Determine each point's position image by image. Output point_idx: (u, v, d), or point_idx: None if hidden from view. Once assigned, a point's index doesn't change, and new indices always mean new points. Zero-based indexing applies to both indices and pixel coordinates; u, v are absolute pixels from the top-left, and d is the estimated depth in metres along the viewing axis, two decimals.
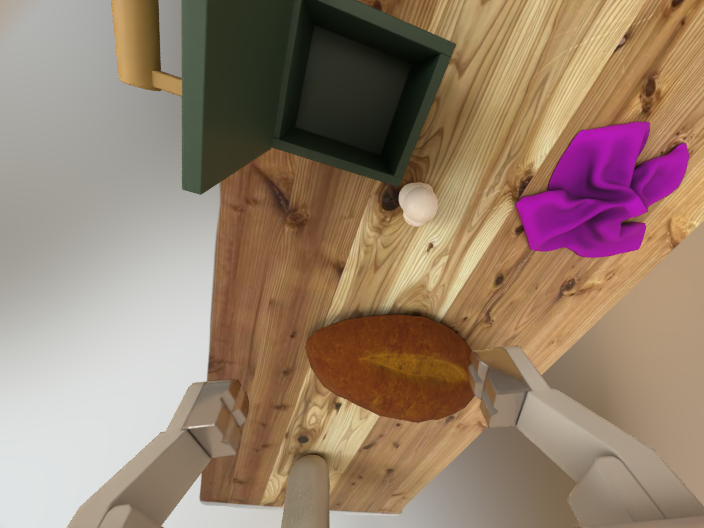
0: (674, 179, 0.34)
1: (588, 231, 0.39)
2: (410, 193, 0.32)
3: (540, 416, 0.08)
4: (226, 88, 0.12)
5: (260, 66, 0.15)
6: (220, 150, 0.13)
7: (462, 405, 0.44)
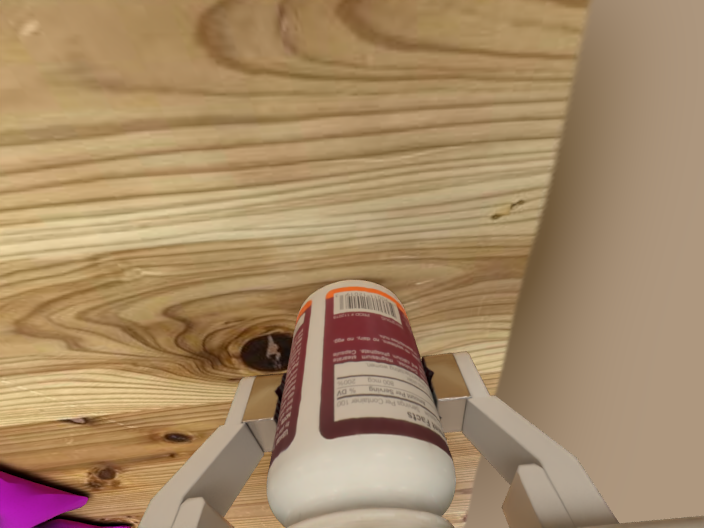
0: None
1: None
2: None
3: (479, 423, 0.08)
4: None
5: None
6: None
7: None
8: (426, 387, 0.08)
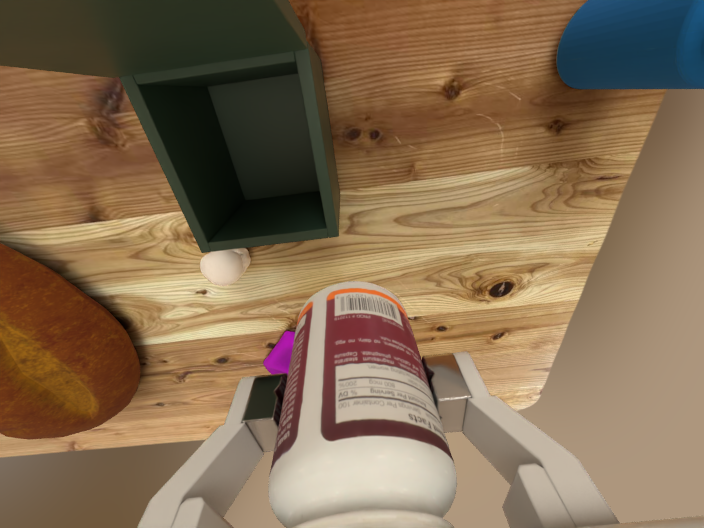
0: None
1: None
2: (225, 252, 0.28)
3: (479, 423, 0.08)
4: None
5: (138, 44, 0.10)
6: None
7: (52, 436, 0.35)
8: (427, 389, 0.08)
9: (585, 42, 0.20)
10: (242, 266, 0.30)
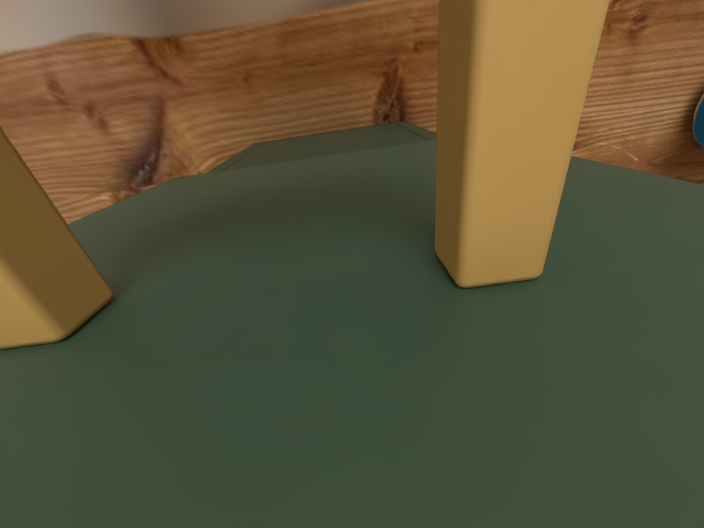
0: None
1: None
2: None
3: None
4: None
5: None
6: None
7: None
8: None
9: None
10: None
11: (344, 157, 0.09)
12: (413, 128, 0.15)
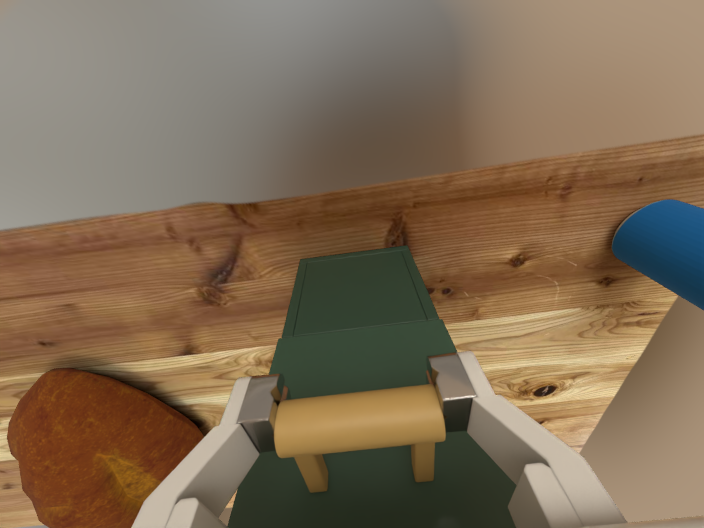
0: None
1: None
2: None
3: (484, 422, 0.08)
4: None
5: None
6: None
7: None
8: None
9: (644, 253, 0.24)
10: None
11: (374, 338, 0.17)
12: (412, 269, 0.23)
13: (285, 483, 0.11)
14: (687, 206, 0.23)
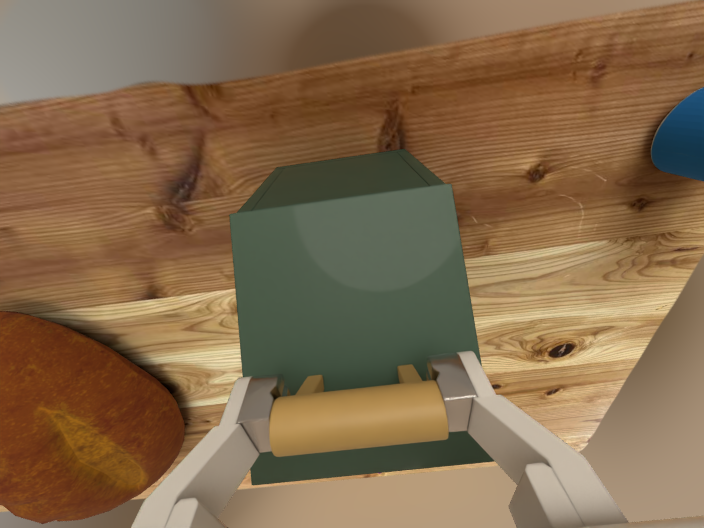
0: None
1: None
2: None
3: (485, 422, 0.08)
4: None
5: None
6: None
7: (100, 513, 0.34)
8: None
9: (697, 142, 0.19)
10: None
11: (359, 217, 0.13)
12: (410, 160, 0.19)
13: (285, 384, 0.12)
14: None
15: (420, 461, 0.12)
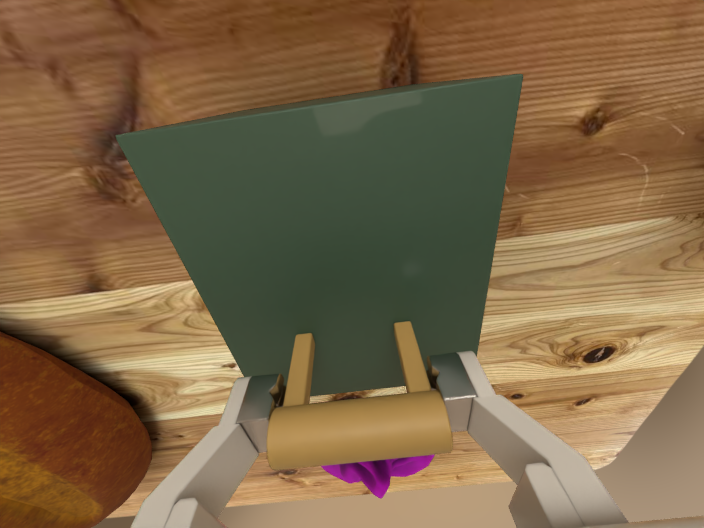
0: (409, 471, 0.40)
1: None
2: None
3: (485, 422, 0.08)
4: None
5: None
6: None
7: None
8: None
9: None
10: None
11: (352, 143, 0.08)
12: (429, 83, 0.13)
13: (273, 341, 0.12)
14: None
15: None
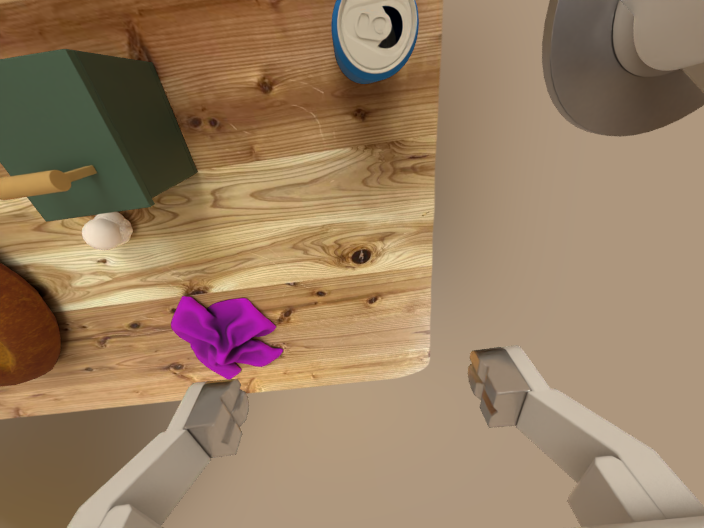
0: (262, 361, 0.53)
1: None
2: (100, 221, 0.35)
3: (540, 416, 0.08)
4: None
5: None
6: None
7: None
8: None
9: None
10: (119, 233, 0.36)
11: (17, 74, 0.21)
12: None
13: None
14: None
15: (116, 208, 0.27)
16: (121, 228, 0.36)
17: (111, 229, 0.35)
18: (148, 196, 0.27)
